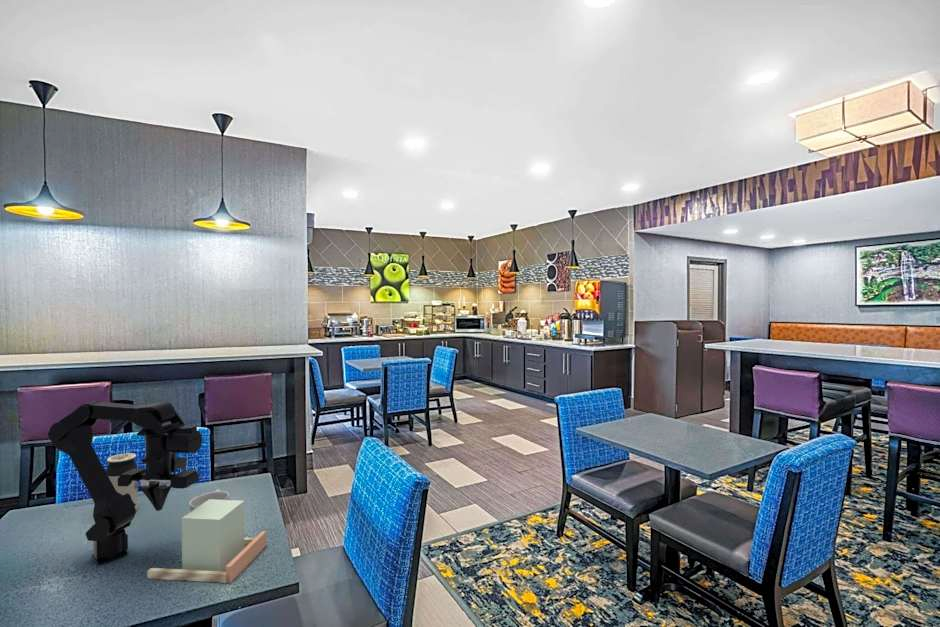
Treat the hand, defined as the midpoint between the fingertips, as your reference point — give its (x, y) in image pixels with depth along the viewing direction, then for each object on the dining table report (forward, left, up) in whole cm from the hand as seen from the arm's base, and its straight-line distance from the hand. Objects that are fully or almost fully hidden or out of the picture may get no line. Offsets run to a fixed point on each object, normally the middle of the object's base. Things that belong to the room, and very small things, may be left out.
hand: (159, 510), depth 123 cm
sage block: (+9, -12, -13) cm, 20 cm away
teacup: (+18, +12, -13) cm, 25 cm away
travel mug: (+2, +40, -13) cm, 42 cm away
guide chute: (+8, -11, -13) cm, 19 cm away
